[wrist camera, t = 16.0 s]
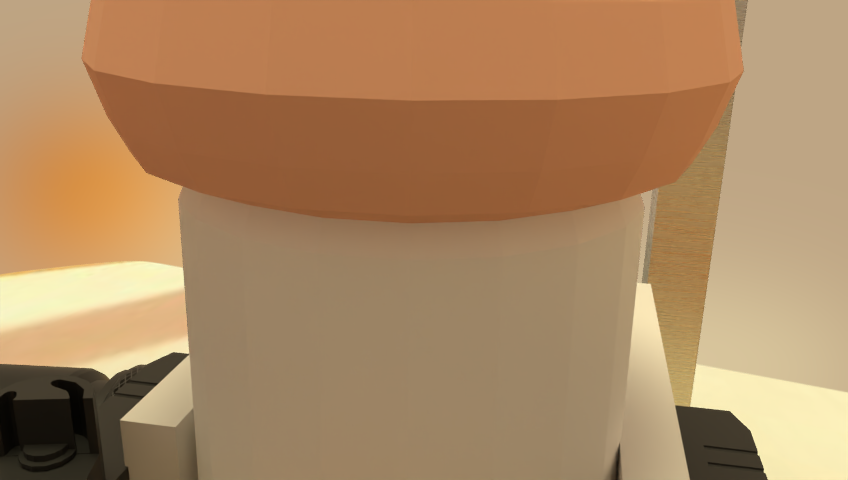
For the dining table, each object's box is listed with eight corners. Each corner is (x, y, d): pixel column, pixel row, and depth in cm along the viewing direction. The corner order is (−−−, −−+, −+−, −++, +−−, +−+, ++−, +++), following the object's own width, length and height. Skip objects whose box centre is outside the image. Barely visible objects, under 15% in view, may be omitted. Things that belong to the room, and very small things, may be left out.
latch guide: (666, 572, 38) (760, -88, 29) (352, 525, 41) (347, -92, 32) (662, 539, 40) (748, -84, 31) (364, 496, 43) (363, -87, 34)
